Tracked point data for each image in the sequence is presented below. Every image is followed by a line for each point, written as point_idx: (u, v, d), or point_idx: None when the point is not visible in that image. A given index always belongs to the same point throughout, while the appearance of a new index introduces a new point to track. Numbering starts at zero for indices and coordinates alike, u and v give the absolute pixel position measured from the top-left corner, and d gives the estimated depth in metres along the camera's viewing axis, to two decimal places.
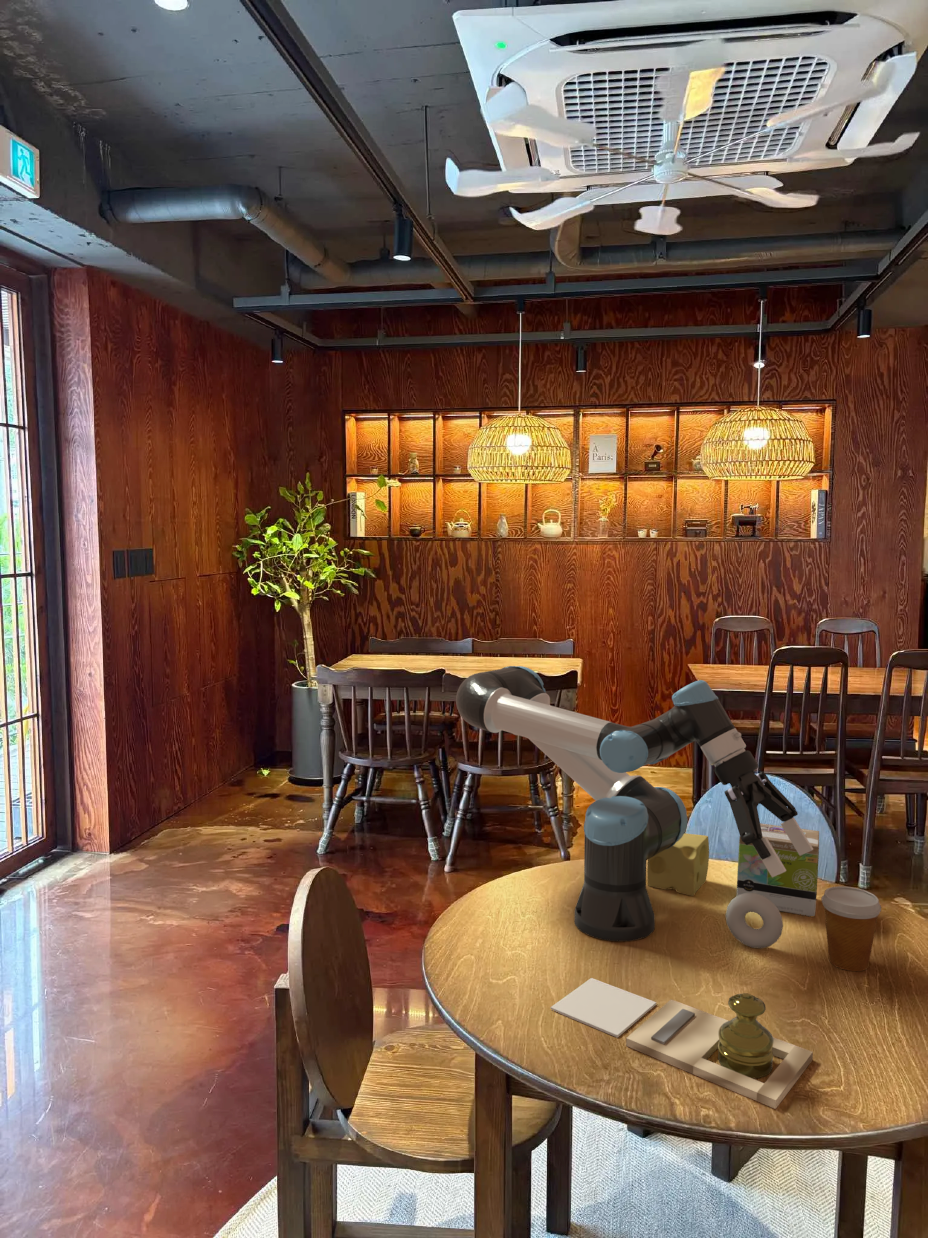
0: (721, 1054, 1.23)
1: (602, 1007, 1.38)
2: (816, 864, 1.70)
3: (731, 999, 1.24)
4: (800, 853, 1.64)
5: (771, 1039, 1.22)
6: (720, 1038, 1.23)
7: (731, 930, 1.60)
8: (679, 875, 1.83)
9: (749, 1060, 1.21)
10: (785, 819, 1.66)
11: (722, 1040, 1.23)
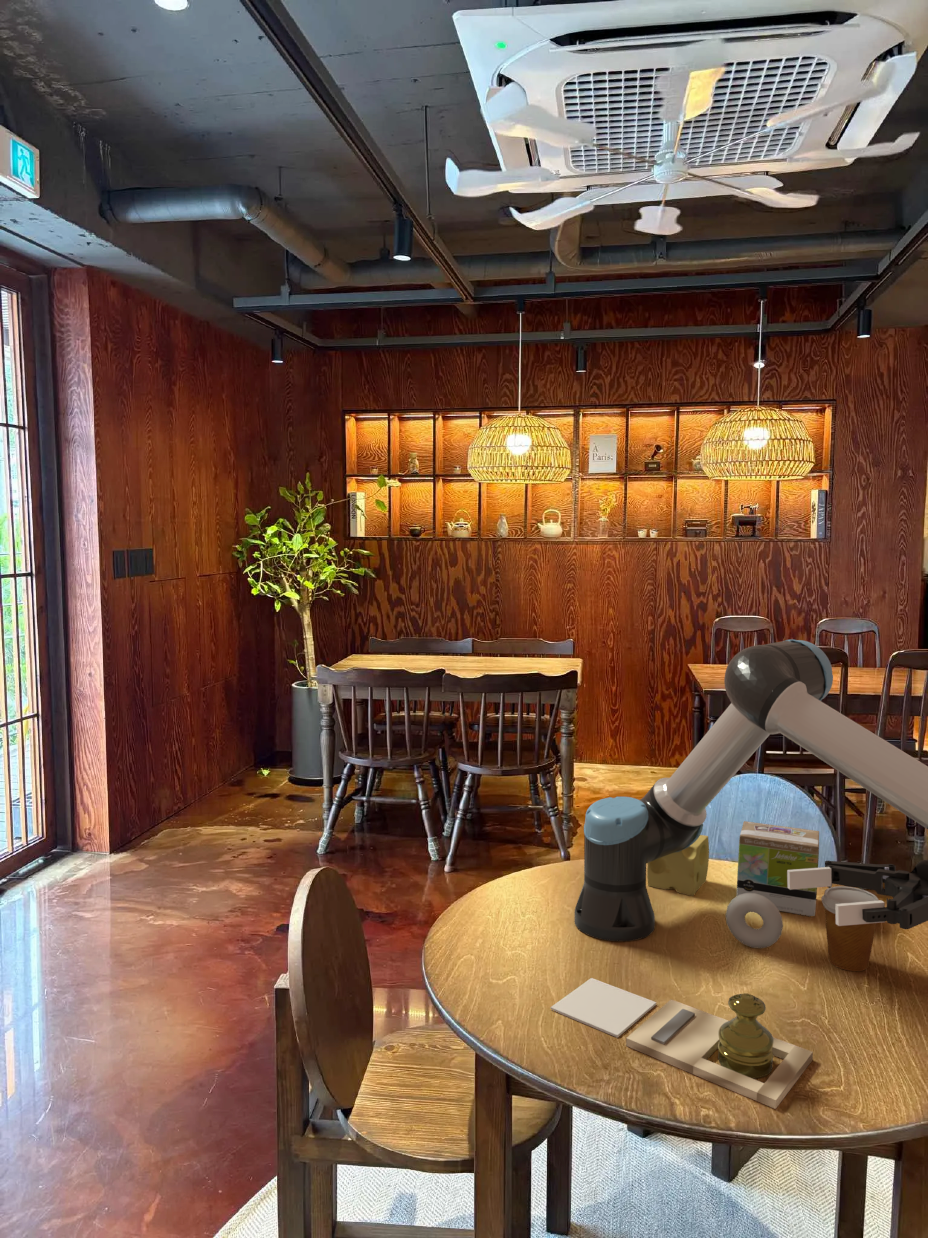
0: (721, 1054, 1.23)
1: (602, 1007, 1.38)
2: (816, 864, 1.70)
3: (731, 999, 1.24)
4: (791, 874, 1.30)
5: (771, 1039, 1.22)
6: (720, 1038, 1.23)
7: (731, 930, 1.60)
8: (679, 875, 1.83)
9: (749, 1060, 1.21)
10: (830, 873, 1.32)
11: (722, 1040, 1.23)
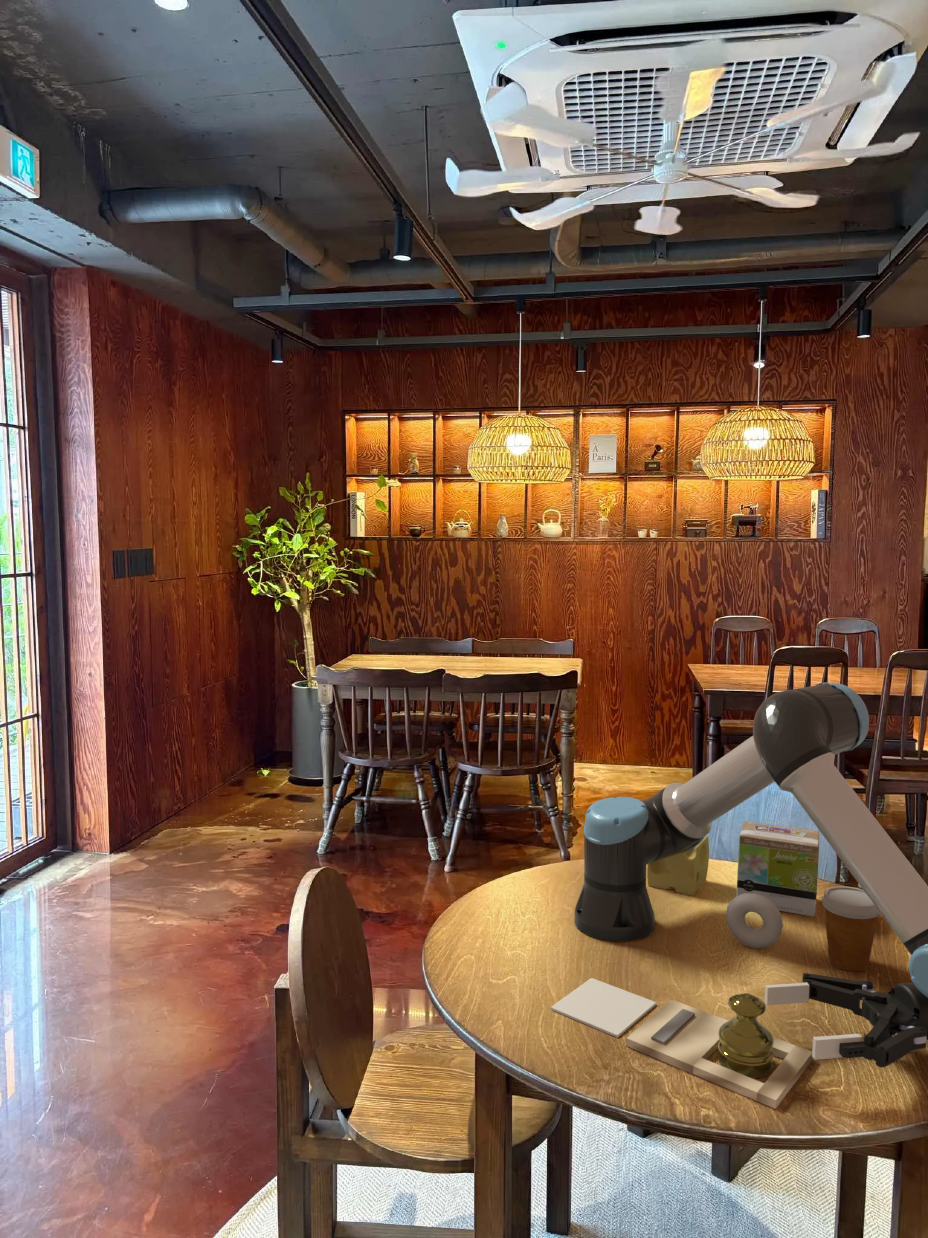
0: (721, 1054, 1.23)
1: (602, 1007, 1.38)
2: (816, 864, 1.70)
3: (731, 999, 1.24)
4: (769, 990, 1.30)
5: (771, 1039, 1.22)
6: (720, 1038, 1.23)
7: (731, 930, 1.60)
8: (679, 875, 1.83)
9: (749, 1060, 1.21)
10: (808, 989, 1.31)
11: (722, 1040, 1.23)
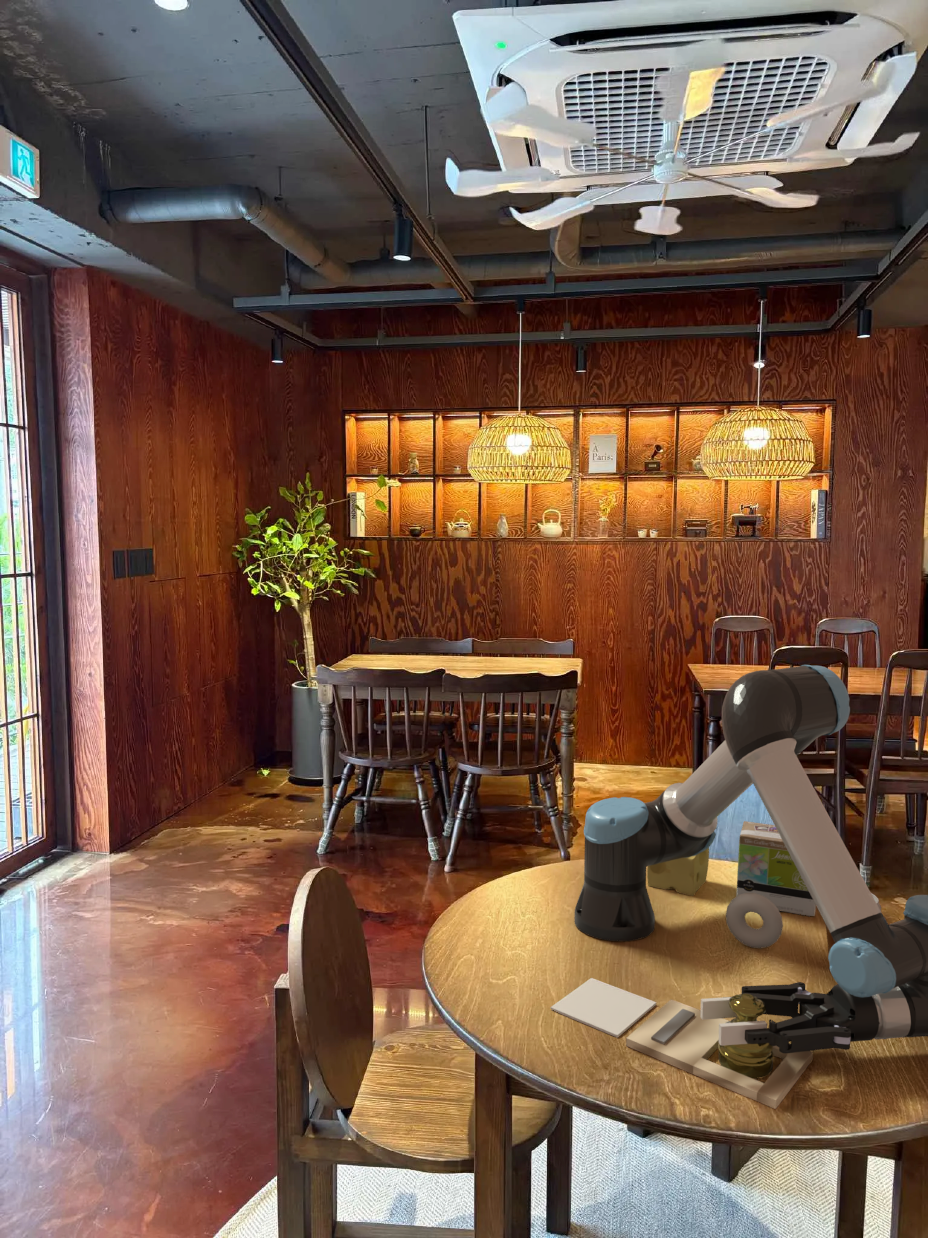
0: (721, 1054, 1.23)
1: (602, 1007, 1.38)
2: None
3: (731, 999, 1.24)
4: (705, 1004, 1.26)
5: None
6: None
7: (731, 930, 1.60)
8: (679, 875, 1.83)
9: (750, 1061, 1.21)
10: None
11: None
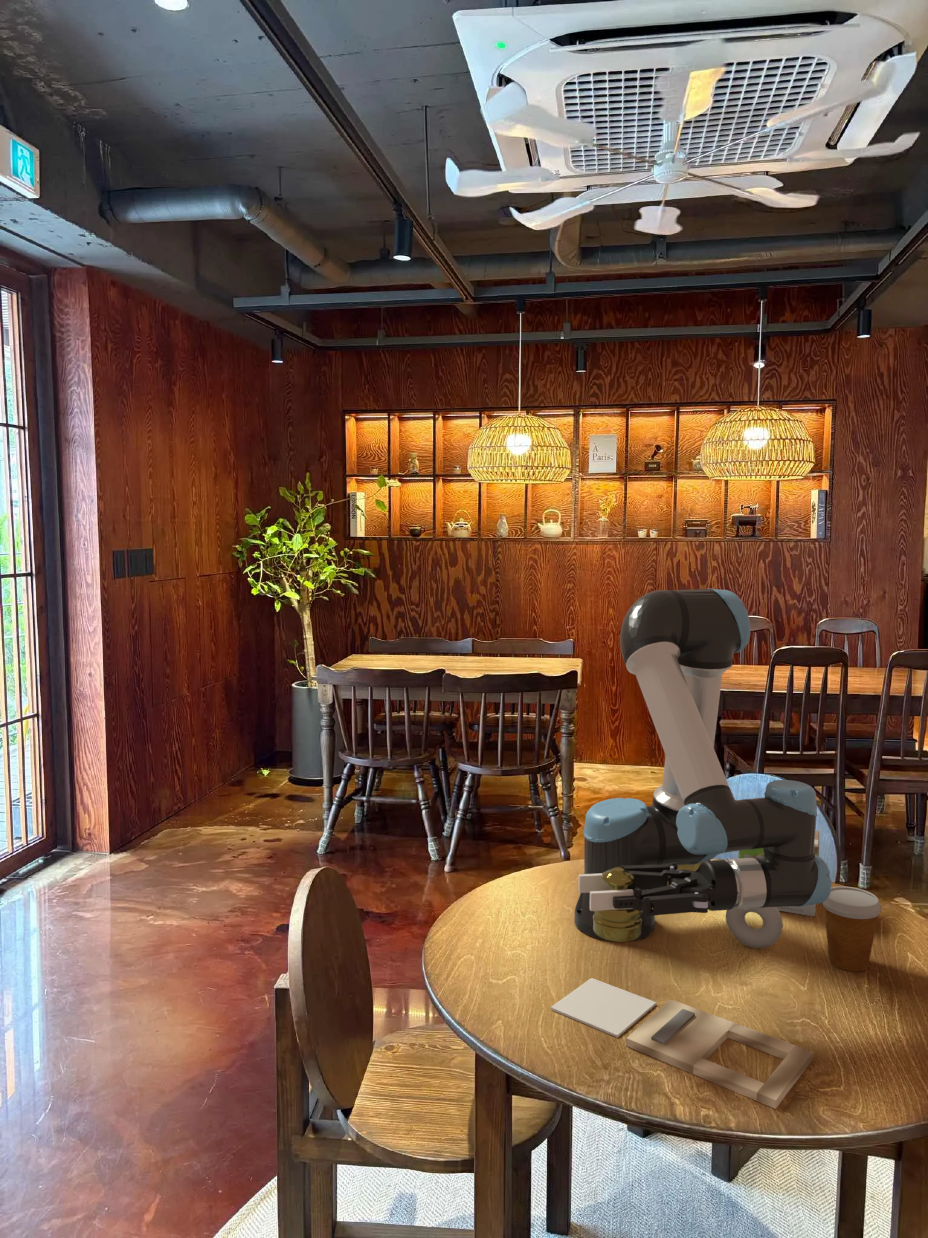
0: (594, 922, 1.34)
1: (602, 1007, 1.38)
2: None
3: (604, 872, 1.35)
4: (582, 878, 1.37)
5: None
6: None
7: (731, 930, 1.60)
8: None
9: (618, 926, 1.32)
10: None
11: None
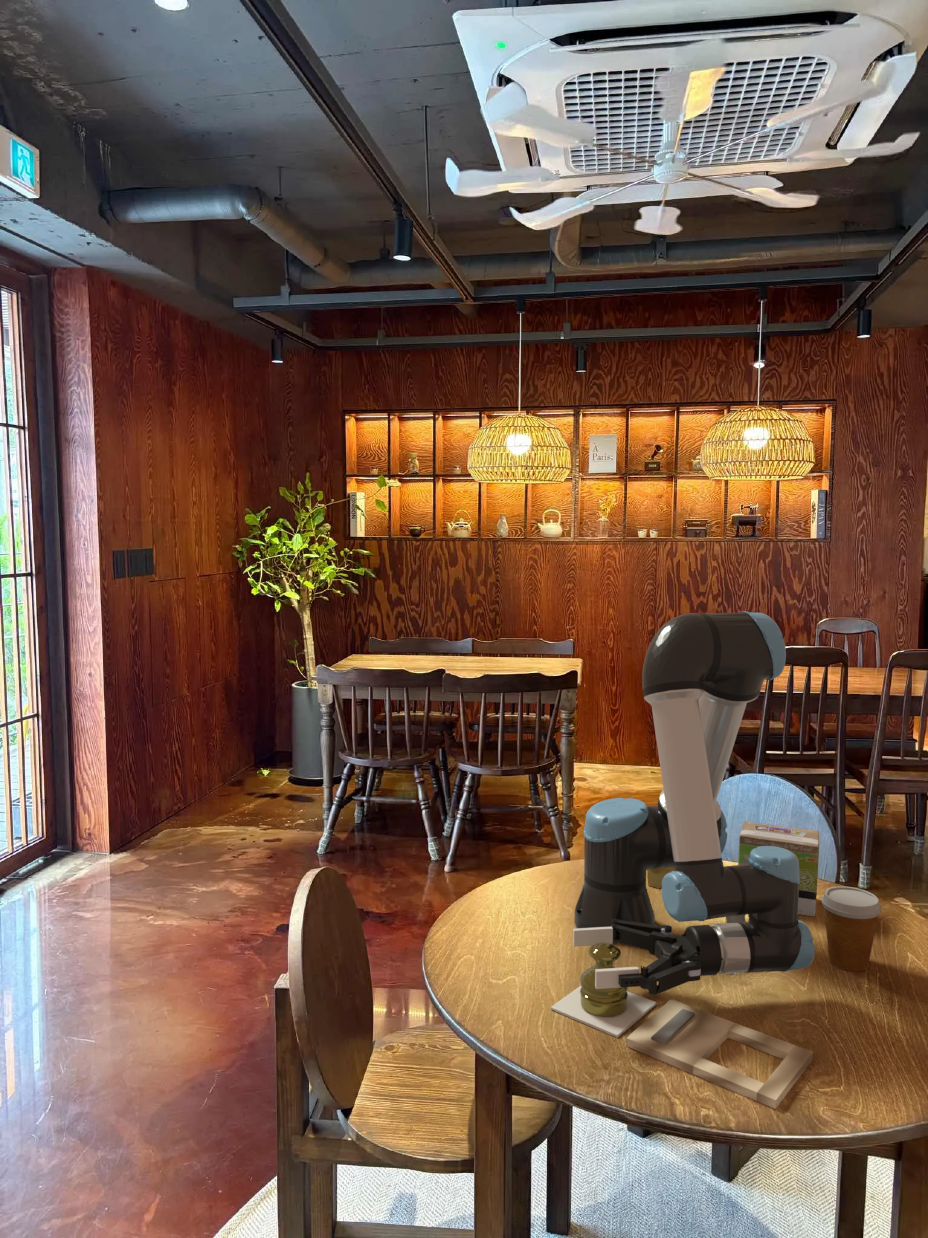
0: (581, 996, 1.38)
1: None
2: (816, 864, 1.70)
3: (591, 947, 1.38)
4: (576, 933, 1.44)
5: None
6: (581, 982, 1.38)
7: None
8: None
9: (604, 1001, 1.35)
10: (613, 932, 1.46)
11: (582, 983, 1.37)
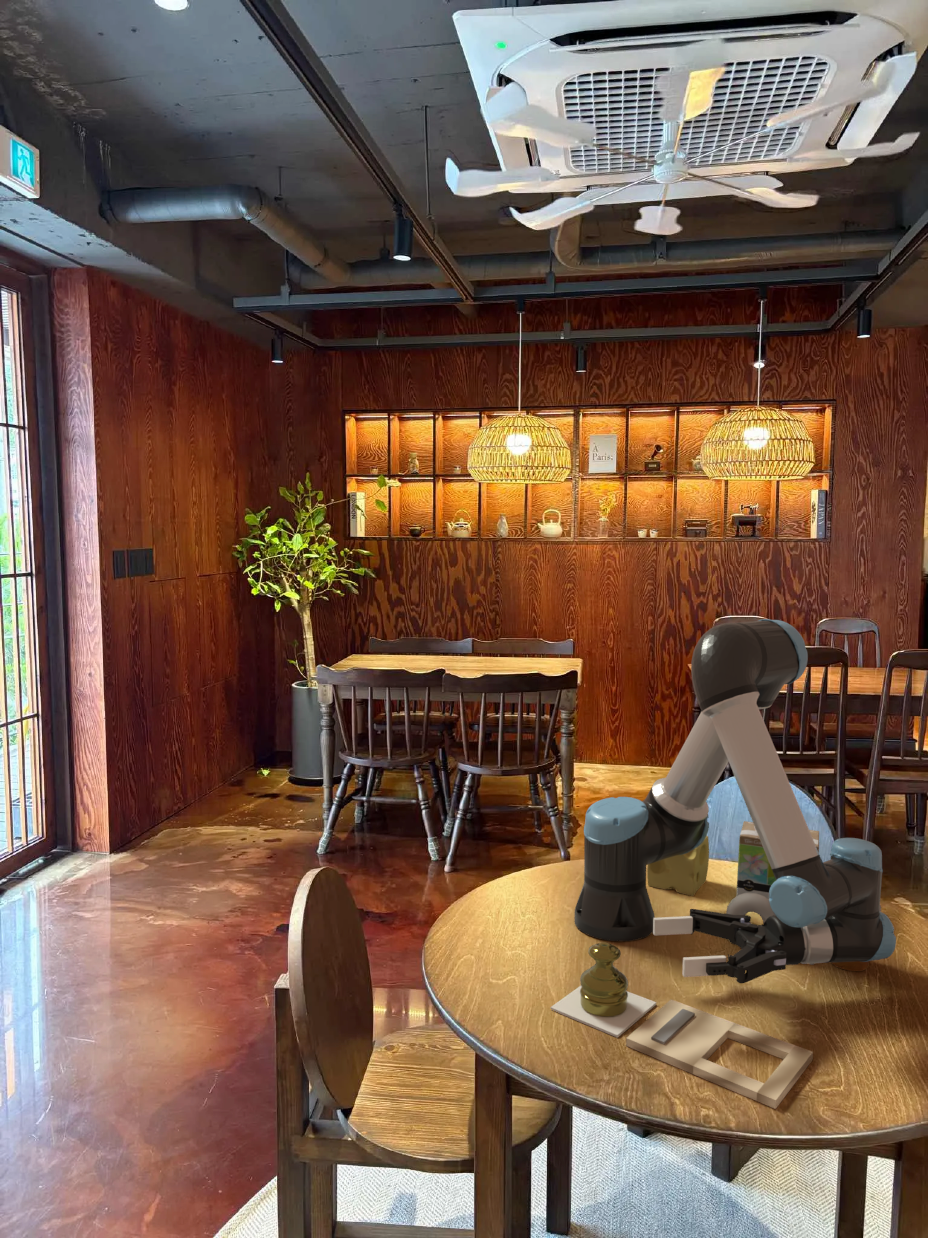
0: (581, 996, 1.38)
1: None
2: None
3: (591, 947, 1.38)
4: (656, 922, 1.45)
5: (625, 982, 1.37)
6: (581, 982, 1.38)
7: None
8: (679, 875, 1.83)
9: (604, 1001, 1.35)
10: (692, 922, 1.47)
11: (582, 983, 1.37)
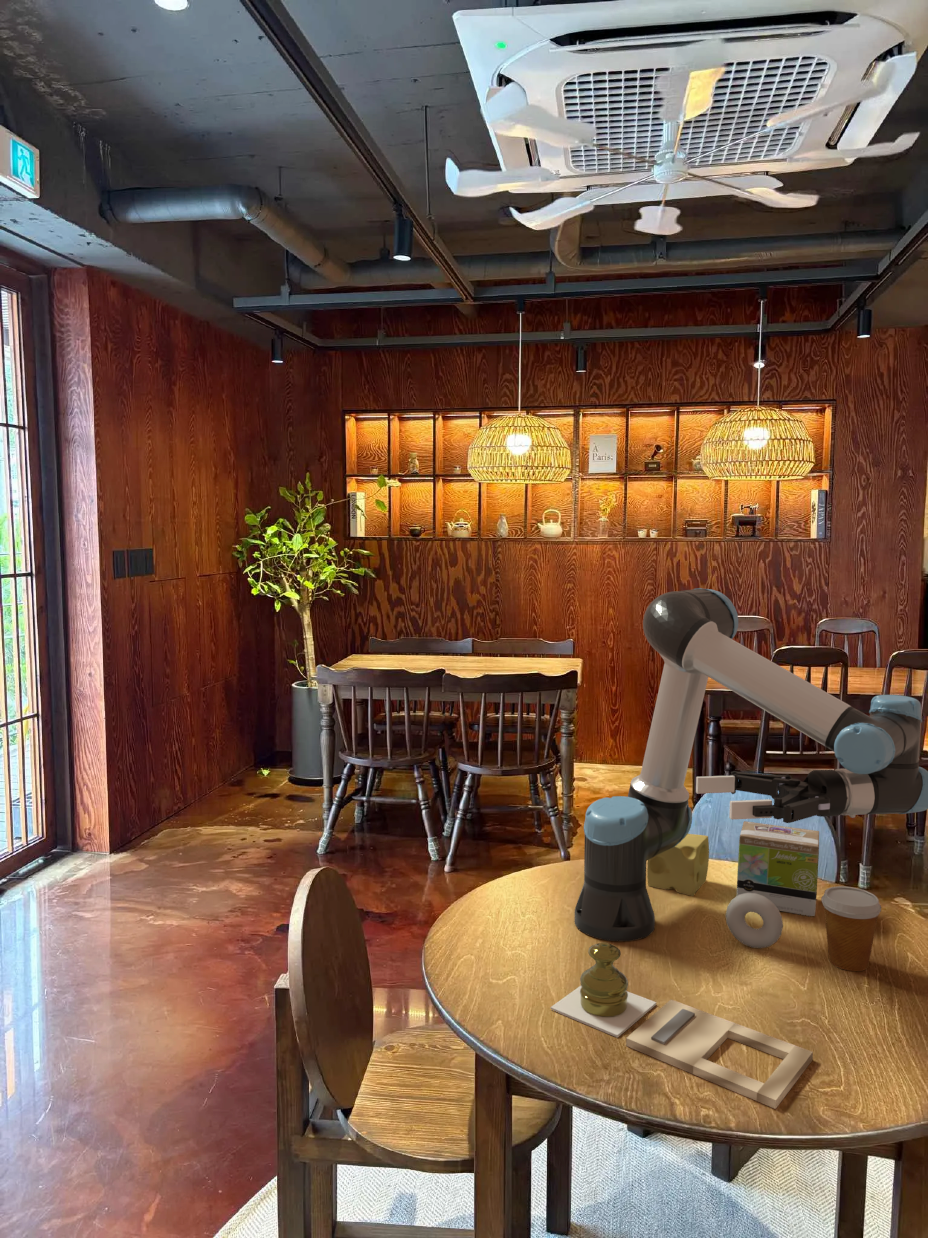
0: (581, 996, 1.38)
1: None
2: (816, 864, 1.70)
3: (591, 947, 1.38)
4: (699, 780, 1.48)
5: (625, 982, 1.37)
6: (581, 982, 1.38)
7: (731, 930, 1.60)
8: (679, 875, 1.83)
9: (604, 1001, 1.35)
10: (734, 781, 1.50)
11: (582, 983, 1.37)
